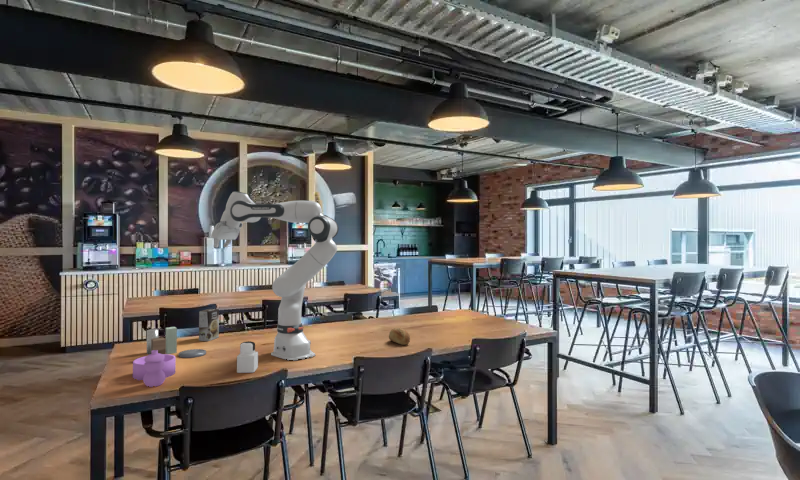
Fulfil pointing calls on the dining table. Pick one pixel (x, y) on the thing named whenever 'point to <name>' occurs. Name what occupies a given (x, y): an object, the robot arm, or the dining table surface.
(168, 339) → the sage block
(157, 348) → the walnut block
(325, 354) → the dining table surface
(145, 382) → the container set
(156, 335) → the pewter tin
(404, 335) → the bread roll
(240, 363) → the medicine bottle
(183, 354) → the disc
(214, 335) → the coffee box
